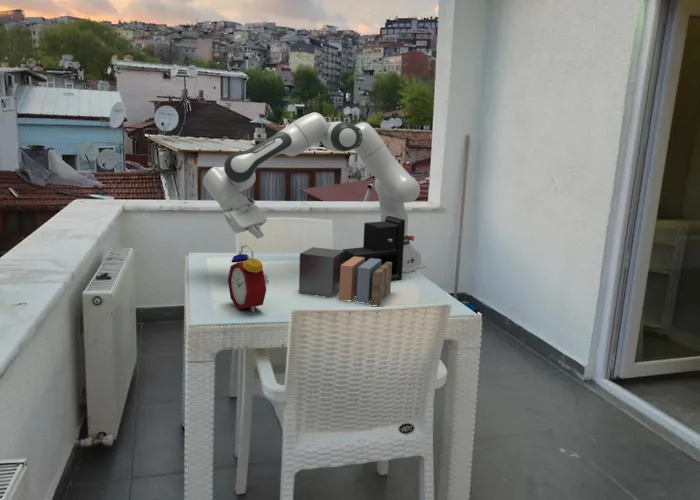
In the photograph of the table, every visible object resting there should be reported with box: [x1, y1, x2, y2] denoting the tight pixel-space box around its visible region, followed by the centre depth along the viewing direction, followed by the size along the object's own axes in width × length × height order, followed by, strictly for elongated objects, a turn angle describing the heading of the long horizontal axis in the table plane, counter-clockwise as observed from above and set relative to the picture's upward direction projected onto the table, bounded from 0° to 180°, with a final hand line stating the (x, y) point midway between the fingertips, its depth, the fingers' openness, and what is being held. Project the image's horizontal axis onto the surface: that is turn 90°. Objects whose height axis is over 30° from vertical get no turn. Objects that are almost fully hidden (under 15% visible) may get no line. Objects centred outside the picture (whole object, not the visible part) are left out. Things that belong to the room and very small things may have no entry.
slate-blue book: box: [355, 258, 382, 304], centre depth 191 cm, size 15×4×12 cm, turn 162°
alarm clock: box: [227, 244, 270, 314], centre depth 174 cm, size 15×9×20 cm, turn 35°
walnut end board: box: [370, 262, 392, 306], centre depth 190 cm, size 18×2×11 cm, turn 162°
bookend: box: [341, 216, 405, 282], centre depth 213 cm, size 23×11×24 cm, turn 122°
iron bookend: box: [298, 246, 345, 298], centre depth 196 cm, size 12×12×14 cm
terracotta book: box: [338, 256, 365, 301], centre depth 193 cm, size 15×4×12 cm, turn 162°
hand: (260, 237), depth 200 cm, fingers closed
